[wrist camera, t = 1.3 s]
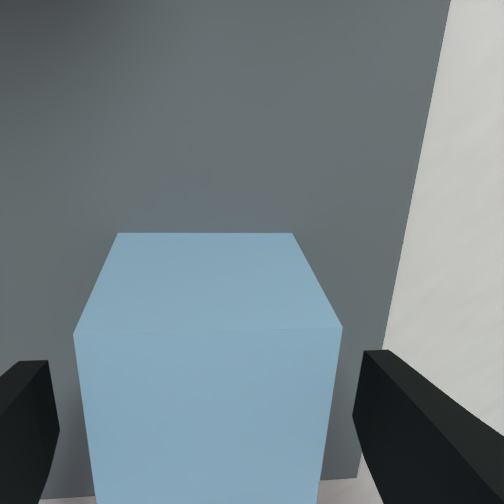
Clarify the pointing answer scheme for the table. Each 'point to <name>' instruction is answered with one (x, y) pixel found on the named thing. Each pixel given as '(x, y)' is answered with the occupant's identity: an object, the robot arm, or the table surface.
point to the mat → (206, 161)
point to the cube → (207, 370)
